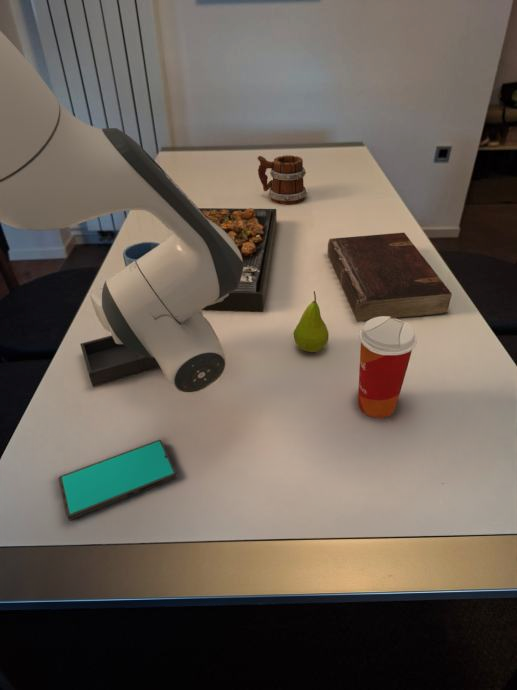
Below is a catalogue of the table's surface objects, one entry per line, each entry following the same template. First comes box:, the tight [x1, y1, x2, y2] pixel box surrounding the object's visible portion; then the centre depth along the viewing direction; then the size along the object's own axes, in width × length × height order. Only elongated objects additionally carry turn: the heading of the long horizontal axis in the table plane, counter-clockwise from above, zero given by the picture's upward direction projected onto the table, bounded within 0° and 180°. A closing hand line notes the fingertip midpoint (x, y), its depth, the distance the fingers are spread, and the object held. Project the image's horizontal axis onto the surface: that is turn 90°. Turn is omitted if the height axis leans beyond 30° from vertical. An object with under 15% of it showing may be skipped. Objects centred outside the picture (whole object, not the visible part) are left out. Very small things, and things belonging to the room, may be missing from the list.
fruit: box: [292, 290, 329, 353], centre depth 89 cm, size 6×6×12 cm
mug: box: [257, 154, 308, 205], centre depth 151 cm, size 12×14×15 cm
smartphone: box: [57, 439, 177, 521], centre depth 70 cm, size 7×1×15 cm
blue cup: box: [122, 241, 161, 267], centre depth 84 cm, size 7×7×10 cm
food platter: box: [198, 207, 278, 313], centre depth 119 cm, size 45×25×10 cm, turn 175°
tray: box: [79, 334, 160, 388], centre depth 91 cm, size 18×10×3 cm, turn 115°
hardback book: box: [327, 232, 452, 322], centre depth 110 cm, size 29×19×5 cm, turn 5°
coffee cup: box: [357, 316, 418, 419], centre depth 76 cm, size 8×8×15 cm
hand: (147, 272), depth 84 cm, fingers closed on blue cup, 7 cm apart
